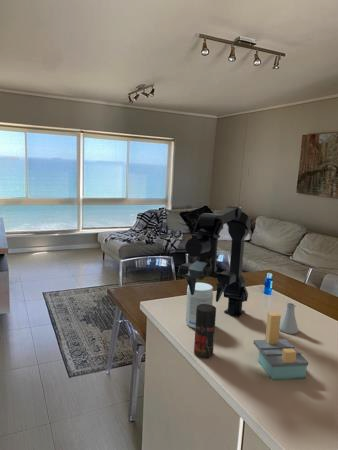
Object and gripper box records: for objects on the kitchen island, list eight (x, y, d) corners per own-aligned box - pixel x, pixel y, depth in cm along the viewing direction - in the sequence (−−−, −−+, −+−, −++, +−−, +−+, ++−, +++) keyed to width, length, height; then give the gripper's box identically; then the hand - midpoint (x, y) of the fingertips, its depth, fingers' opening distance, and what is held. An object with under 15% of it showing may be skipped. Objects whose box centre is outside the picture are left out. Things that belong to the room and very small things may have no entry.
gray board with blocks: (253, 343, 103) (256, 312, 101) (285, 342, 104) (288, 312, 103) (272, 367, 90) (275, 332, 88) (308, 365, 91) (312, 331, 90)
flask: (299, 328, 124) (302, 302, 122) (298, 336, 117) (301, 309, 116) (279, 324, 127) (281, 299, 125) (276, 331, 120) (279, 305, 119)
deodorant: (192, 348, 105) (195, 303, 103) (210, 348, 106) (213, 304, 104) (195, 358, 100) (198, 311, 97) (214, 358, 100) (218, 311, 98)
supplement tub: (216, 326, 122) (219, 288, 120) (196, 332, 117) (198, 292, 115) (199, 316, 130) (202, 280, 128) (180, 321, 125) (182, 284, 123)
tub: (258, 361, 100) (259, 349, 99) (289, 360, 101) (290, 348, 100) (271, 380, 91) (272, 366, 90) (305, 378, 92) (306, 365, 92)
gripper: (170, 251, 106) (167, 297, 108) (223, 261, 96) (219, 312, 98) (188, 246, 116) (185, 289, 118) (238, 255, 105) (234, 302, 107)
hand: (204, 298), depth 110 cm, fingers open, 9 cm apart
